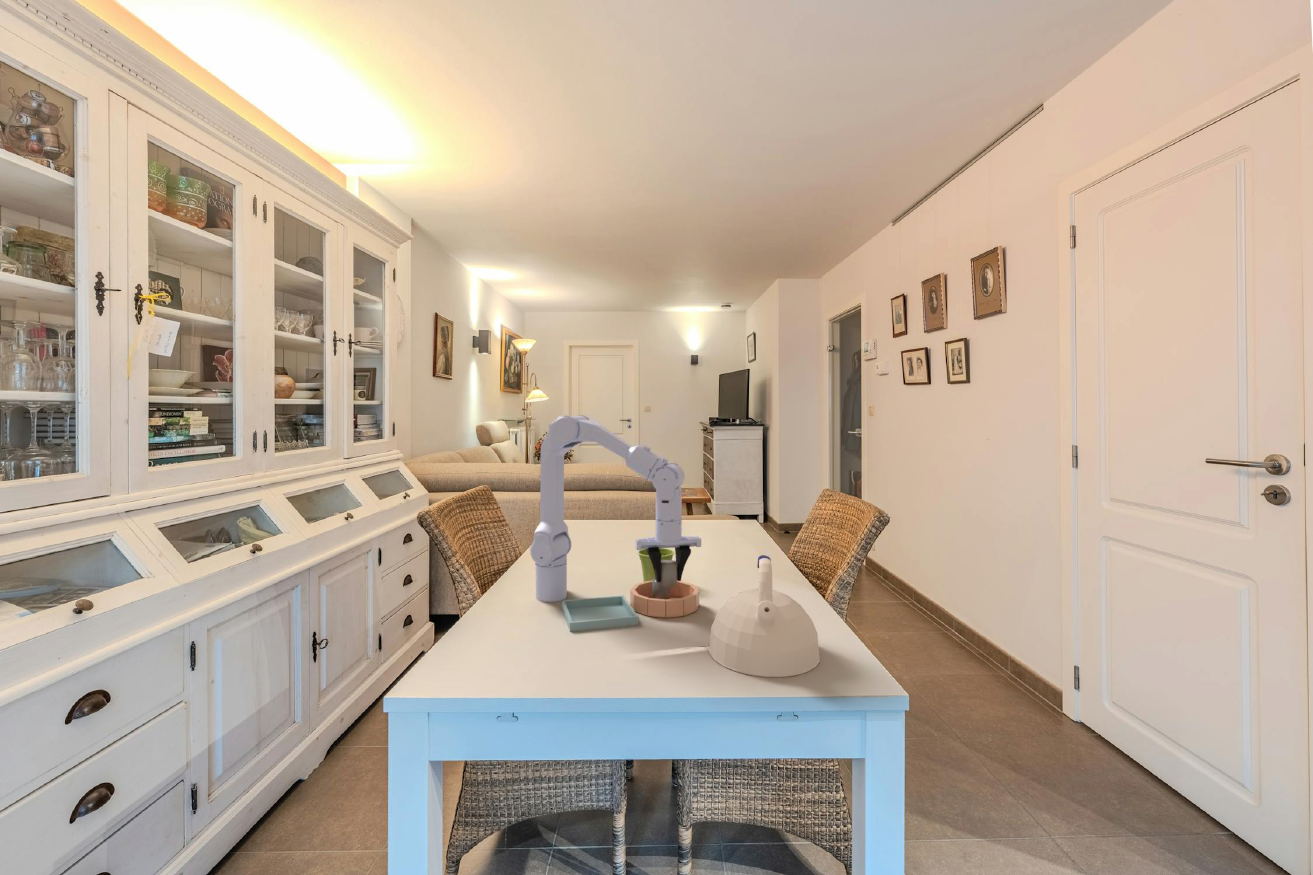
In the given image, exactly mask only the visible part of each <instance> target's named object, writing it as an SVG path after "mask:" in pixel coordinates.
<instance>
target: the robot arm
mask: <svg viewBox="0 0 1313 875" xmlns="http://www.w3.org/2000/svg"><path fill="white" fill-rule="evenodd" d="M585 442H586V443H587V442H588V443H591V442H593V443H596V444H597V445H600V447H603V448H605V449H607V450H608V451H610V452H612V453H614V454H615V455H617V456H619V457H621V458H623V459H624V461H625V465H626V467H627V468H629V469H630V470H631V471H633V472H635V473H636V474H638V475H639V476H641V477H642V478H644V479H646V480H647V481H648V482H652V483H651V484H652V485H653V487H654V489H655V537H646V538H639V539H638V538H637V539H635V542H634V544H635V550H637V551H639V550H642V549H646V550H647V553H648V555H649V557H650V559H651V562H652V565H653V568H654V572H655V579H656V581H657V582H661V569H660V567H661V556H662V554H661V553H660V550H659V548H666V549H674V555H675V561H677V562H678V574H677V581H682V576H683V574H684V570H685V567H686V564H687V562H688V559H689V557H690V556H691V555H692V554H691V553H692V549H691V548H692V547H696V548H701V547H702V538H701V537H700V536H682V529H683V528H682V526H683V525H682V524H683V523H682V521H683V520H682V519H683V518H682V515H683V514H682V512H683V510H682V509H683V507H682V505H683V503H682V502H683V500H682V487H681V486H682V485H683V483H684V482H685V472H684V470H683V468H682V467H681V466H680V465H679V464H678V463H677V462H676V463H675V462H669V459H667V458H666V457H663V458H662V457H661V456H659V455H657V453H654V452H653V451H651V447H650V446H649V445H644V446H643V445H641V444H639V445H635V446H632V445H631V444H629V442H627V441H625V440H624V439H622V438H621V437H620V436H618V435H616V433H614V432H612V431H611V430H609V429H608V428H606V427H605V426H603V425H602V424H600V422H598V421H596V420H594V419H590V418H589V417H588V416H586V415H582V414H580V415H579V414H578V415H567V414H564V415H563V414H562V415H560V416H557V417H556V418H555V419H554V420H553V421H551V422H550V423H549V424H548V431H547V434H546V435H545V436H544V439H543V441H542V443H541V445H540V489H539V490H540V491H539V494H540V495H539V496H540V497H539V498H540V502H539V504H540V505H539V507H540V508H539V509H540V511H539V516H540V517H539V521H540V522H539V524H538V525H537V527H536V528H535V531H534V533H533V541H532V543H531V544H530V546H529V547H530V548H529V553H530V556H531V559H532V560H533V562H534V563H535V564H534V565H535V599H536V601H540V602H544V603H554V602H560V601H562V600H565V599H566V598H568V596H567V595H568V593H567V591H568V585H567V584H568V579H567V578H568V574H567V573H568V572H567V570H568V567H567V566H568V562H567V560H568V558H567V555H568V554H569V553H570V551H571V549H572V540H571V537H570V534H569V527H568V525H567V524H566V522H565V519H564V517H565V516H564V515H565V514H564V513H565V512H564V508H565V505H564V504H565V503H564V502H565V500H564V499H565V492H564V491H565V455H566V454H567V453H568V452H569V451H570V450H572V449H573V448H574V447H575V446H578V445H579V444H582V443H585ZM668 462H669V463H668Z"/></svg>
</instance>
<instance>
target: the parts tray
mask: <svg viewBox="0 0 1313 875" xmlns="http://www.w3.org/2000/svg"><path fill="white" fill-rule="evenodd" d="M561 610H562V613H563V616H564V619H565V621H566V625H567V628H568V631H569V632H570V633H571V632H579V631H581V632H582V631H589V630H591V631H592V630H600V629H601V630H602V629H610V628H620V627H629V626H631V627H632V626H639V615H638V614H637V612H636V611H634V610H633V608H632V607H631V605H630V601H628V599H627V598H626V597H625V596H624V594H621V595H613V596H602V597H601V596H600V597H589V598H588V597H587V598H577V599H566V600H565V599H563V600H561Z"/></svg>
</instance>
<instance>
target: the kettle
mask: <svg viewBox="0 0 1313 875" xmlns="http://www.w3.org/2000/svg"><path fill="white" fill-rule="evenodd" d="M772 566H773V565H772V559H771V557H770V556H768V555H760V556H758V557H757V568H758V576H759V578H758V579H759V581H758V588H753V589H748V590H744V591H741V592H738V594H736V595H735V596H733V597H732V598H730V599H729V600H727V601H726V602H725V603H724V604H723V606H722V607H720V608H719V610H717V611H718V612H717V614H716V616H715V617H714V620H713V623H712V625H711V627H710V635H709V645H708V651H709V652H708V653H709V655H710V656H711V658H713V659H714V661H715V662H717V663H719V665H721V666H723V667H724V668H727V669H729V670H731V671H734V672H737V673H739V674H740V673H741V674H745V675H748V676H755V677H761V678H787V677H788V678H789V677H794V676H795V677H796V676H799V675H802V674H806V673H808V672H810V671H811V670H813V669H815V668H816V667H817V665H818V664H819V663H820V660H821V659H820V657H821V656H820V650H819V648H820V647H819V637H818V636H819V635H818V631H817V629H816V627H815V624H814V621H813V619H812V618H811V617H810V615H809V614H808V612H807V611H806V610H805V609H804V608H803V606H802V605H801V604H800V603H798V602H797V601H796V600H795V599H793V598H792V596H789V595H788V594H786V593H783V592H780V591H777V590H776V589H775V590H774V589H773V568H772Z"/></svg>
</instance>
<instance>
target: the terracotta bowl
mask: <svg viewBox="0 0 1313 875" xmlns="http://www.w3.org/2000/svg"><path fill="white" fill-rule="evenodd" d="M629 595H630V598H629V599H630V601H629V604H630V605H631V607H632V608H633V610H634V611H635V612H636V613H638V614H640V615H644V616H647V617H653V618H663V619H664V618H665V619H666V618H668V619H669V618H677V617H684V616H688V615H690V614H692V613H695V612H697V610H698V608H699V606H700V589H699V588H698V587H697V586H695V584H692V583H688V582H686V581H682V580H681V581H678V580H677V586H676V587H671V588H670V599H654V598H653V580H652V581H645V582H644V581H643V582H639V583H636V584H634V585H633V587H631V588H630V593H629Z"/></svg>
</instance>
